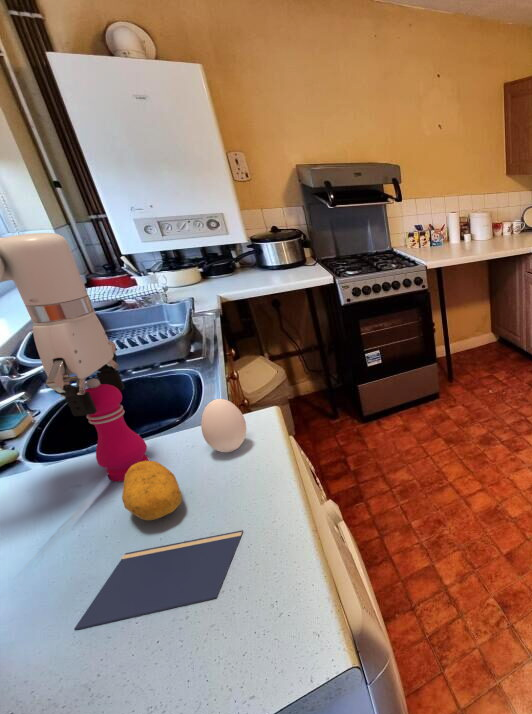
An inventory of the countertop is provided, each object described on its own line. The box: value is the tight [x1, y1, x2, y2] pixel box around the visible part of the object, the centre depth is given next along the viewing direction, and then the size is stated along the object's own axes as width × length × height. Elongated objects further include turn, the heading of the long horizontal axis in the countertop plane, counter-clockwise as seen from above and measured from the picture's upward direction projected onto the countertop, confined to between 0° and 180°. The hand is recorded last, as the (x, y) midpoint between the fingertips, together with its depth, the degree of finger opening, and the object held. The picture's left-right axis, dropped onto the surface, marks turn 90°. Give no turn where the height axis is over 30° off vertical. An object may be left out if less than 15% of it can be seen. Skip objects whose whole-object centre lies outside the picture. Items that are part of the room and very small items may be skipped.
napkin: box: [73, 529, 244, 631], centre depth 62 cm, size 16×12×1 cm
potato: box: [121, 460, 183, 521], centre depth 74 cm, size 7×14×7 cm, turn 45°
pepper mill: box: [85, 377, 150, 483], centre depth 81 cm, size 7×7×20 cm
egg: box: [200, 398, 247, 453], centre depth 88 cm, size 7×7×12 cm
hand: (100, 401), depth 79 cm, fingers open, 8 cm apart
